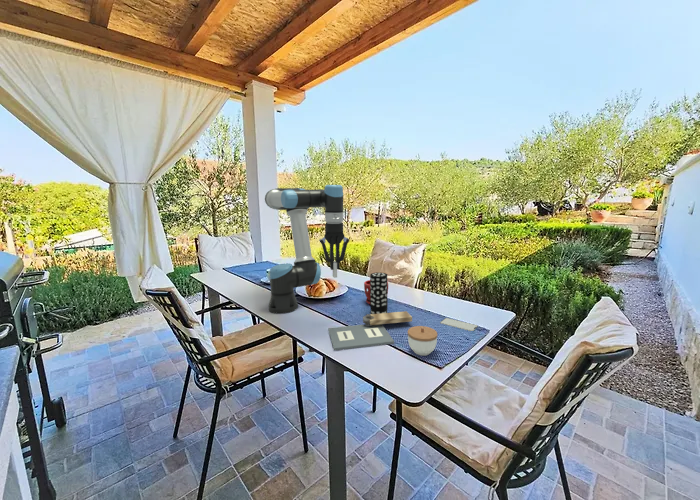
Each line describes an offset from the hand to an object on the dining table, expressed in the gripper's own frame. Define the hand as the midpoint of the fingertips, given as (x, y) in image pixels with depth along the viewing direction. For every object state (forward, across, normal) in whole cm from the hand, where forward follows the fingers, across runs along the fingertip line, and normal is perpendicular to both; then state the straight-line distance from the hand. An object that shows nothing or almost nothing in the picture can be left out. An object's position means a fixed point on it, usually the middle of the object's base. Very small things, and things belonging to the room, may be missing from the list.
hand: (334, 276), depth 128 cm
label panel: (+23, +8, -12) cm, 27 cm away
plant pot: (+24, +27, +24) cm, 44 cm away
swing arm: (+21, +22, -5) cm, 31 cm away
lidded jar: (+22, +28, -30) cm, 46 cm away
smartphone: (+23, +54, -12) cm, 60 cm away
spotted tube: (+24, +24, +9) cm, 35 cm away
